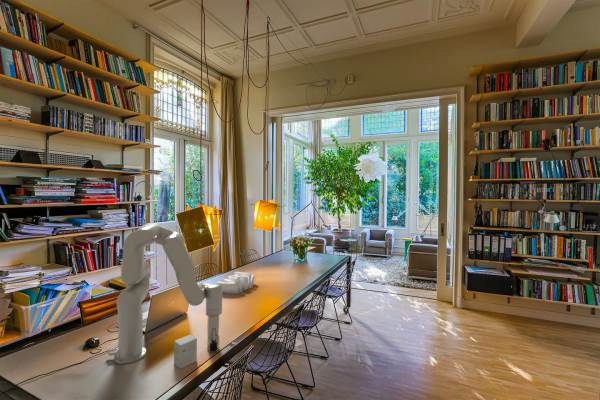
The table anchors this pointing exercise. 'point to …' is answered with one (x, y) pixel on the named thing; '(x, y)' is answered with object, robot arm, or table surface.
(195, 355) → the small box
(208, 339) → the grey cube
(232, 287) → the wavy white extrusion
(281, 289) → the table surface
